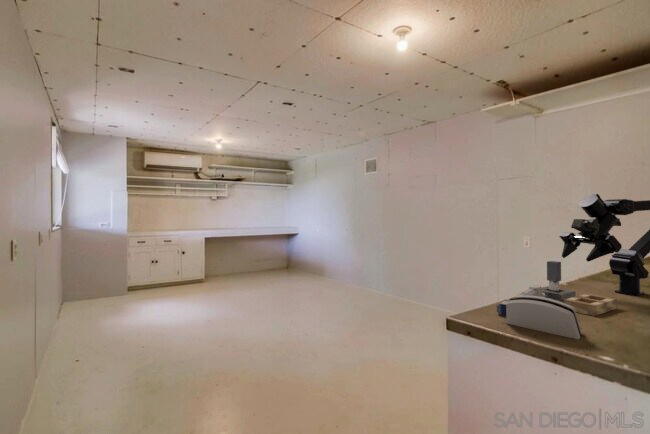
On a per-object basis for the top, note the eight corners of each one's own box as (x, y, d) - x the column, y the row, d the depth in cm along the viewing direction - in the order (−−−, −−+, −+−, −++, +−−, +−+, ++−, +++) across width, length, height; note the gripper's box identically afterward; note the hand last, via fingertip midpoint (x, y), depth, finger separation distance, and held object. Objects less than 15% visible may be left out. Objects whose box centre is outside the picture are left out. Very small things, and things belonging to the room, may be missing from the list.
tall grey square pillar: (552, 297, 118) (551, 260, 117) (561, 299, 115) (560, 261, 115) (547, 298, 116) (546, 261, 116) (556, 300, 113) (556, 262, 113)
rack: (586, 302, 110) (586, 293, 110) (616, 308, 103) (616, 298, 103) (564, 309, 104) (564, 299, 104) (594, 316, 97) (594, 305, 97)
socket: (547, 294, 122) (547, 286, 122) (575, 299, 114) (575, 291, 114) (533, 297, 117) (533, 289, 117) (561, 303, 109) (561, 294, 109)
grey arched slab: (584, 334, 83) (580, 299, 81) (579, 345, 80) (576, 310, 78) (512, 319, 96) (507, 288, 93) (506, 328, 93) (500, 297, 91)
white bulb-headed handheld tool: (493, 301, 101) (530, 279, 115) (495, 322, 102) (531, 297, 116) (511, 305, 97) (547, 281, 111) (512, 327, 97) (548, 300, 112)
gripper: (563, 211, 126) (538, 240, 124) (614, 210, 108) (586, 245, 106) (580, 231, 128) (556, 260, 126) (634, 234, 109) (606, 269, 108)
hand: (574, 258), depth 116 cm, fingers open, 9 cm apart
